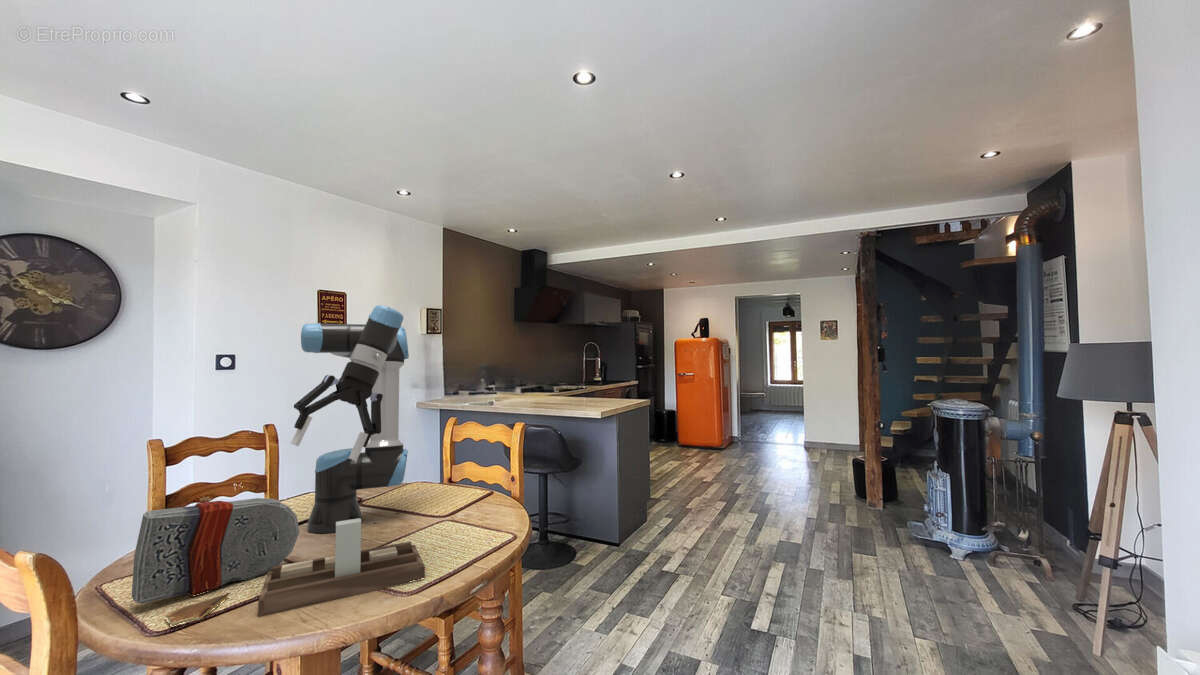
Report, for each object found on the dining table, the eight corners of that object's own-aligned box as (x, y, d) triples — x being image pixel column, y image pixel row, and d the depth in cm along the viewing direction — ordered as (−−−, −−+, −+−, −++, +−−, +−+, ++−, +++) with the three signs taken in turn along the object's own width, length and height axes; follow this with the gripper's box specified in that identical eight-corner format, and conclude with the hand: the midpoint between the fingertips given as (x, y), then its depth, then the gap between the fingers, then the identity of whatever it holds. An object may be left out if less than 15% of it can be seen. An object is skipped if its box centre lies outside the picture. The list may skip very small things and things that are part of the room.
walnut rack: (267, 585, 109) (267, 567, 109) (414, 556, 124) (414, 540, 125) (257, 616, 95) (258, 596, 95) (424, 579, 111) (424, 562, 111)
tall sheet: (334, 589, 106) (335, 521, 107) (359, 584, 109) (360, 518, 110) (334, 595, 104) (336, 525, 104) (360, 589, 106) (361, 521, 107)
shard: (229, 599, 103) (229, 591, 103) (241, 610, 99) (241, 601, 99) (162, 621, 95) (163, 611, 95) (172, 634, 90) (172, 624, 90)
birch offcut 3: (369, 570, 116) (369, 551, 117) (395, 564, 119) (395, 546, 120) (370, 576, 113) (370, 557, 113) (397, 570, 116) (397, 552, 116)
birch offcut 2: (324, 579, 112) (325, 557, 112) (357, 572, 115) (358, 551, 116) (324, 586, 108) (324, 563, 109) (358, 578, 112) (358, 557, 112)
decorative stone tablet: (147, 514, 97) (306, 494, 121) (140, 508, 101) (295, 490, 125) (131, 613, 95) (296, 574, 119) (125, 604, 99) (286, 567, 122)
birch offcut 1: (281, 587, 108) (282, 565, 108) (312, 581, 111) (312, 559, 111) (279, 595, 104) (280, 572, 104) (311, 588, 107) (312, 566, 107)
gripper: (320, 345, 103) (273, 440, 96) (415, 385, 121) (381, 467, 114) (306, 345, 108) (260, 435, 101) (400, 383, 126) (366, 462, 119)
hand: (324, 452), depth 107 cm, fingers open, 13 cm apart
